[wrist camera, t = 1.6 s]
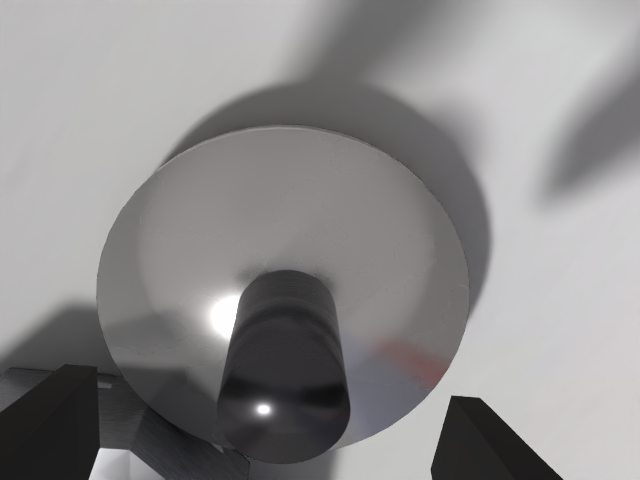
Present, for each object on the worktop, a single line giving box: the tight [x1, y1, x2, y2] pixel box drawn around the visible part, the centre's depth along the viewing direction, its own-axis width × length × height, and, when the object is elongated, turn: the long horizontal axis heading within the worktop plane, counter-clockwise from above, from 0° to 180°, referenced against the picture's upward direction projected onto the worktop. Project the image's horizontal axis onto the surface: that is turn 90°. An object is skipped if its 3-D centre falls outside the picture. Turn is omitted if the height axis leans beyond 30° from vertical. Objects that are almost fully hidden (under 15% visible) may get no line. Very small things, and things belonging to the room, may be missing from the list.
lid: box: [96, 124, 470, 464], centre depth 13 cm, size 10×10×5 cm
